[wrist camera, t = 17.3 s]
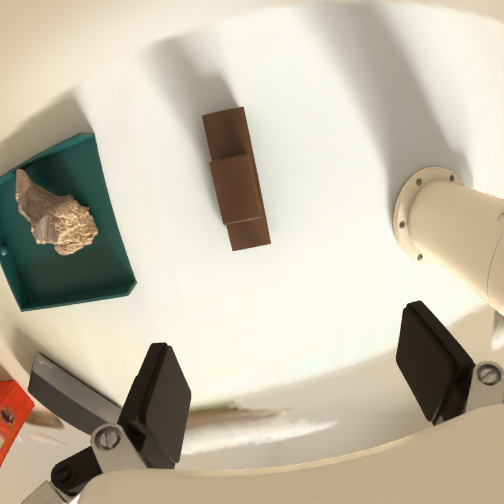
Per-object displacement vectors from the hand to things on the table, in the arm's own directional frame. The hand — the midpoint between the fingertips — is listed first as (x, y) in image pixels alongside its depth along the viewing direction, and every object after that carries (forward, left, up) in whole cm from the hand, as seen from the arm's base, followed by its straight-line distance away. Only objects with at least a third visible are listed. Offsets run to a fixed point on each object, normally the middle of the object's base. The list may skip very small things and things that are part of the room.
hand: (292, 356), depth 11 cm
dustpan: (+32, -5, -22) cm, 39 cm away
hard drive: (+40, +25, -22) cm, 53 cm away
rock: (+24, -7, -22) cm, 33 cm away
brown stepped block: (+2, -5, -22) cm, 22 cm away
